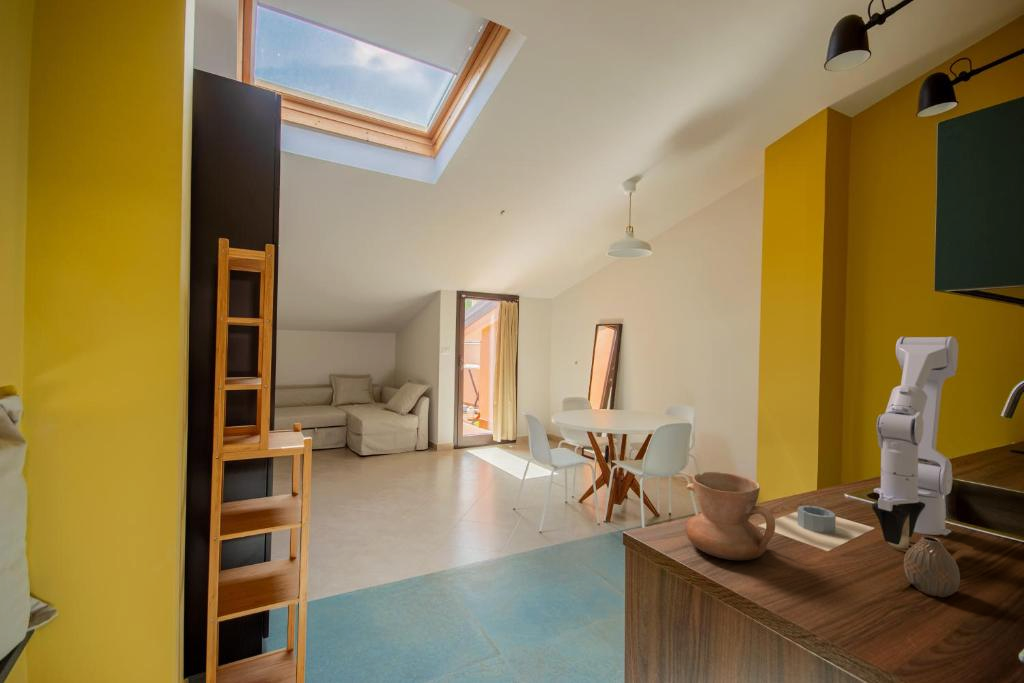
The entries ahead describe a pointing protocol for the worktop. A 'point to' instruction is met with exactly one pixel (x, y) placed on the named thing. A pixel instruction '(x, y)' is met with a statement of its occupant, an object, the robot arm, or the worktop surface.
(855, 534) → the board
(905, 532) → the wick peg
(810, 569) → the worktop surface
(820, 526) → the grey faceted ring
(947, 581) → the vase
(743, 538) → the ceramic jug
